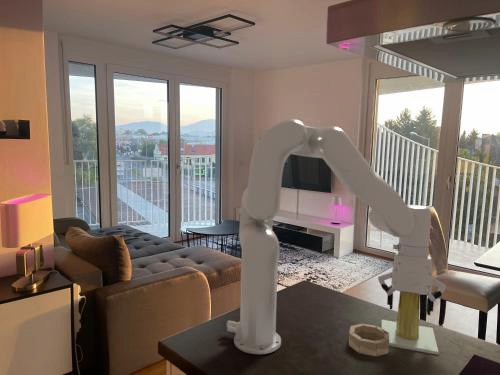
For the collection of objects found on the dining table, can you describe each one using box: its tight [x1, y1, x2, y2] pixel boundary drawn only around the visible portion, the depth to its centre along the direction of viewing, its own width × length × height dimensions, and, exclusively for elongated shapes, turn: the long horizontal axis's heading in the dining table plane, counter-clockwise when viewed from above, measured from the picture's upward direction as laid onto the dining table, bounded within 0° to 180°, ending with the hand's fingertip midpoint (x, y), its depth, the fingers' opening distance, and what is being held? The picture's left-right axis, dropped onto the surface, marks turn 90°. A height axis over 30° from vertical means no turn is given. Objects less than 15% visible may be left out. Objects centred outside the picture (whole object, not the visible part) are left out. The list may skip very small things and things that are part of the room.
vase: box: [396, 291, 421, 339], centre depth 104 cm, size 6×6×14 cm
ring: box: [348, 323, 390, 357], centre depth 100 cm, size 10×10×4 cm
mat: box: [380, 319, 440, 356], centre depth 105 cm, size 14×14×1 cm
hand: (409, 310), depth 104 cm, fingers open, 9 cm apart
